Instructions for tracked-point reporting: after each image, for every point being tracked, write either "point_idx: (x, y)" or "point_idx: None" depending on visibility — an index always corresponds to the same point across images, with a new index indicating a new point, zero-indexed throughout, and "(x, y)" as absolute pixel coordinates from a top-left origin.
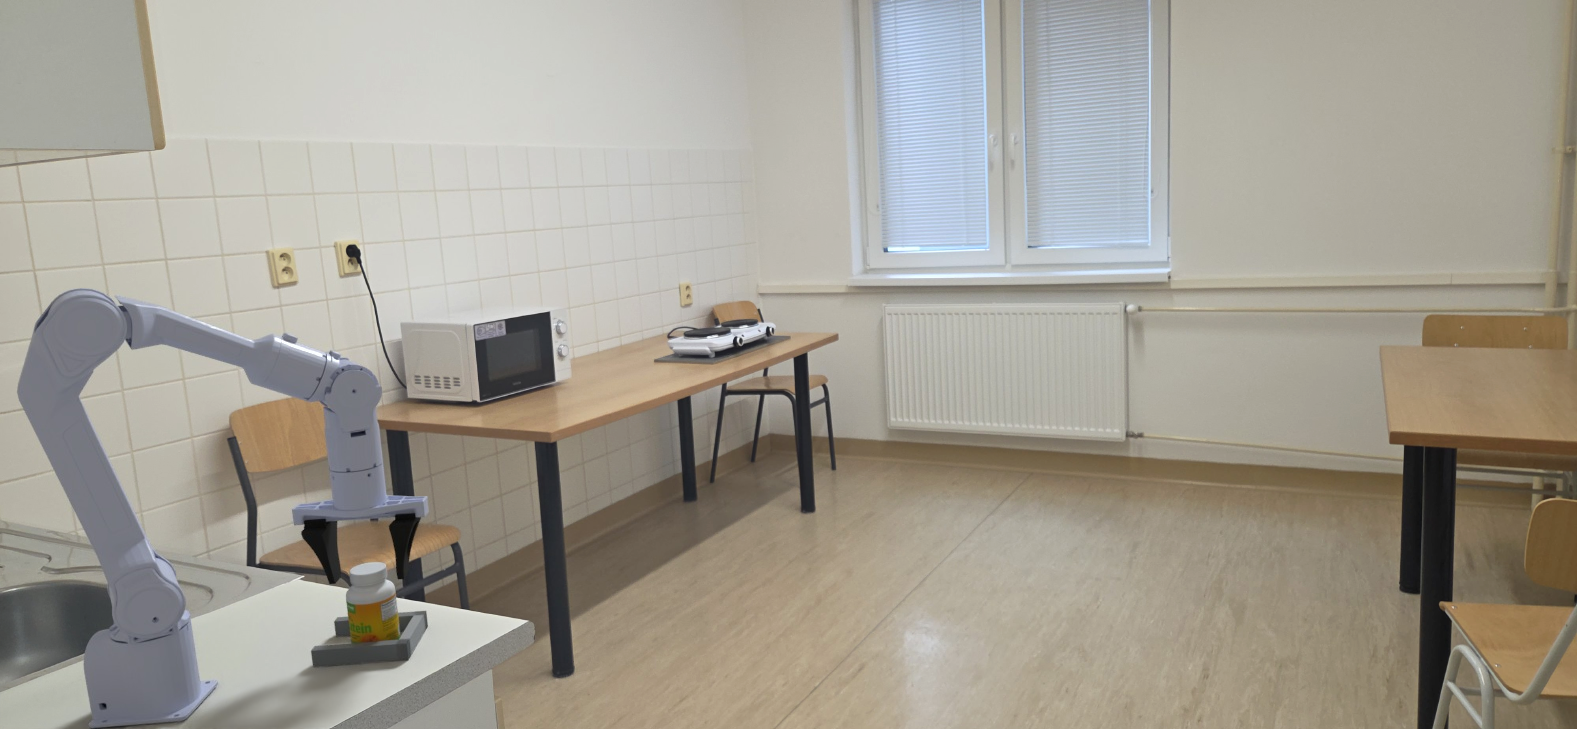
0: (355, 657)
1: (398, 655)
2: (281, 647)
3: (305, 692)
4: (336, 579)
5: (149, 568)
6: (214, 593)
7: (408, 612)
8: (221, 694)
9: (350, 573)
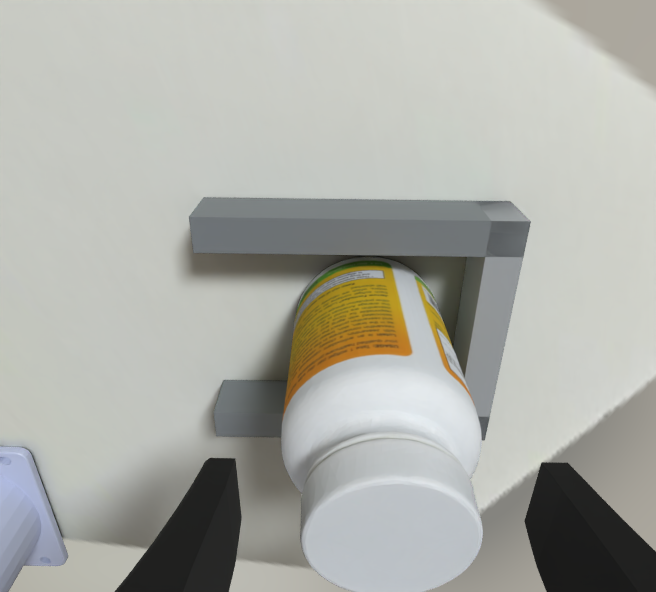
0: None
1: None
2: (58, 270)
3: (262, 497)
4: (237, 512)
5: None
6: None
7: (462, 224)
8: (68, 478)
9: (317, 572)
